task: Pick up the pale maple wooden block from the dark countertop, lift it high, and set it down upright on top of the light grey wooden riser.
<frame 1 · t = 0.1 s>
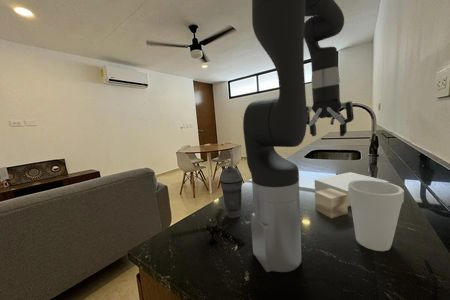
hand: (327, 135, 63), 22 cm above the worktop, tool pointing down, fingers open, 8 cm apart
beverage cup: (234, 214, 62), on the worktop
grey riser: (349, 193, 69), on the worktop
maple block: (330, 211, 58), on the worktop
foam cup: (372, 242, 43), on the worktop
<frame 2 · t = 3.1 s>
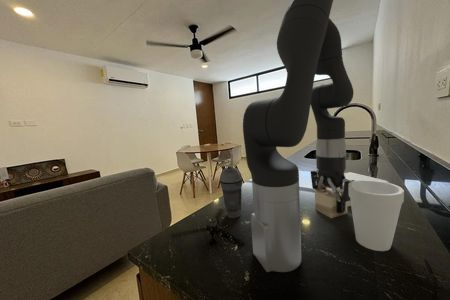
hand: (330, 207, 58), 1 cm above the worktop, tool pointing down, fingers closed on maple block, 6 cm apart
maple block: (330, 211, 58), on the worktop, touching gripper
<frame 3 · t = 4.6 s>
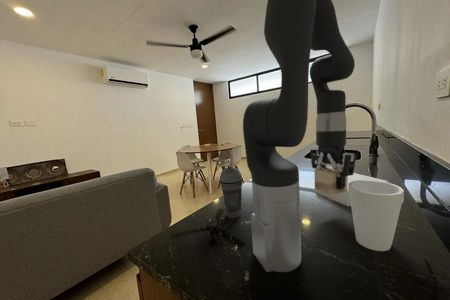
hand: (330, 185, 57), 8 cm above the worktop, tool pointing down, fingers closed on maple block, 6 cm apart
maple block: (330, 189, 57), point 7 cm above the worktop, touching gripper
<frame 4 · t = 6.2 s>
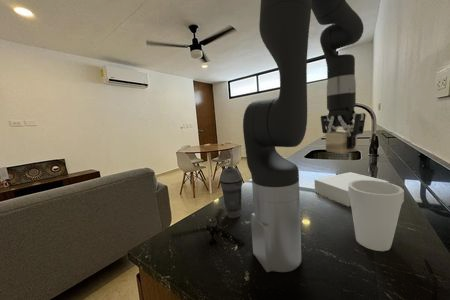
hand: (341, 147, 61), 18 cm above the worktop, tool pointing down, fingers closed on maple block, 6 cm apart
maple block: (340, 150, 61), point 17 cm above the worktop, touching gripper
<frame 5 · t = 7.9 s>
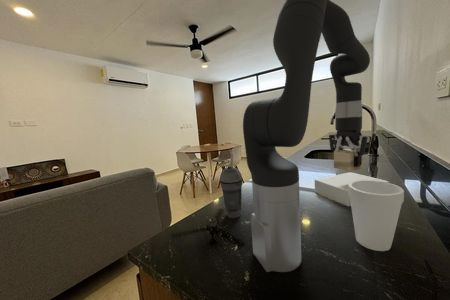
hand: (347, 164, 66), 11 cm above the worktop, tool pointing down, fingers closed on maple block, 6 cm apart
maple block: (347, 168, 66), point 10 cm above the worktop, touching gripper
when the fingers open (8 cm above the worktop, at t = 9.5 s): maple block drops 1 cm, resting on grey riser.
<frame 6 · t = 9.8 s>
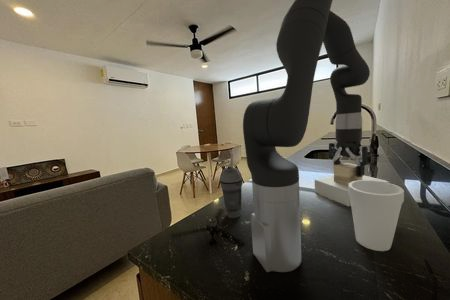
hand: (347, 173, 67), 8 cm above the worktop, tool pointing down, fingers open, 8 cm apart
maple block: (347, 182, 67), point 5 cm above the worktop, touching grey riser
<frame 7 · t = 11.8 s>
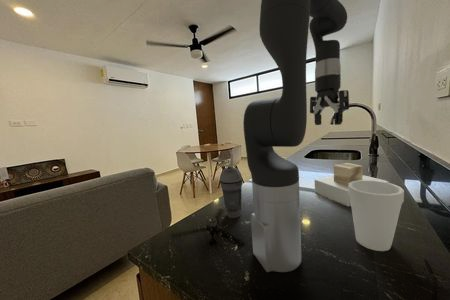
hand: (327, 124, 66), 26 cm above the worktop, tool pointing down, fingers open, 8 cm apart
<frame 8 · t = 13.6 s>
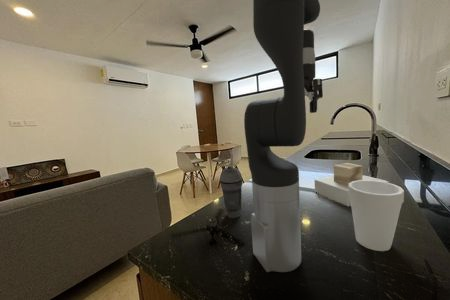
hand: (304, 113, 68), 30 cm above the worktop, tool pointing down, fingers open, 8 cm apart
at the end: maple block inside the target area on the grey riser (2.2 cm from its centre), point 5.0 cm above the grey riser's base; maple block tilted 0°; the gripper is holding nothing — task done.
